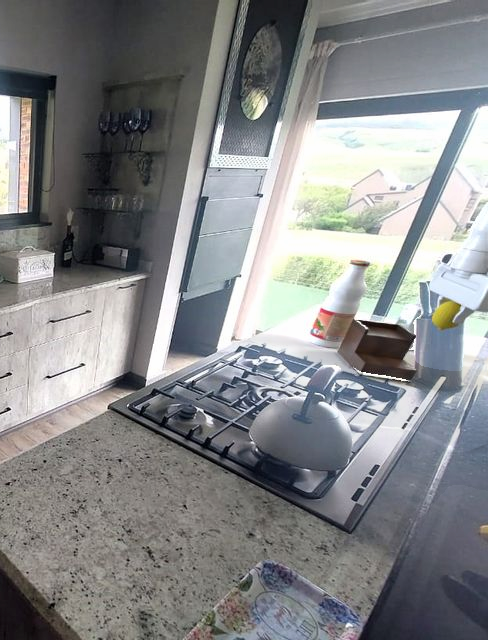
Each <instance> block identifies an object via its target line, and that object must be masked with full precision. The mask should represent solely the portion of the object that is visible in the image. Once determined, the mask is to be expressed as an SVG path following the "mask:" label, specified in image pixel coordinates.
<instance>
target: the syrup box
mask: <svg viewBox="0 0 488 640" xmlns="http://www.w3.org/2000/svg"><path fill="white" fill-rule="evenodd" d="M420 304H421V303H406V304H405V305H404V307H403V309H402V312H401V313H400V315H399V317H398V318H397V321H396V322H395V324H400V325H402V326H403V327H405V328H406V329H408V330H409V331H411V332H412V333H414V324H413V322H414V320H415V319H416V318H417V317H419V316H420V315H421V306H420ZM413 343H414V341H413ZM413 343H412V345H411V346H410V348H409V349H411V348H412V347H413ZM411 351H412V350H409V352H411ZM412 352H413V351H412Z"/></svg>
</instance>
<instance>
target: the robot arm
mask: <svg viewBox="0 0 488 640" xmlns="http://www.w3.org/2000/svg"><path fill="white" fill-rule="evenodd" d="M439 263H441V264H439V265H438V267H437V268H436V270H435V271H434V273H433V275H432V278H431V280H430V281H429V283H428V289H429V291H431V292H433V293H434V294H437V295H439V296H438V298H437V302H436V303H437V304H436V308H435V310H436V309H437V308H438V307H439V306H440V305H441V304H443V303H445V302H449V301H454V302H456V303H458V304H461V305H462V306H461V308H460V310H461V311H460V312H459V313H457V314H456V315H453V316H452V318H451V320H450V321H451V322H453V323H455V324H460V325H462V324H464V323H465V321H466V319H467V318H468V317H470V316H471V315H473V314H474V313H475V312H478V313H479V312H480V313H488V202H487V203H486V204H485V205H484V207H483V208H482V209H481V211H480V213H479V214H478V216H477V217H476V219H475V221H474V222H473V224H472V226H471V228H470V232H469V236H468V237H467V239H466V240H465V241H463V243H462V244H461V246H460V247H459V249H458V250H455V251H454V252H447V253H444V254H442V255H441V257H440V260H439Z"/></svg>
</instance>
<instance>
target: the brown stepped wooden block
mask: <svg viewBox="0 0 488 640" xmlns="http://www.w3.org/2000/svg"><path fill="white" fill-rule="evenodd" d="M415 338H416V335H415V334H414V333H412V332H411V331H409V330H408V329H406V328H405V327H403V326H402V325H400V324H396V323H392V322H386V321H385V322H384V321H378V320H377V321H376V320H368V319H361V318H354V319H353V320H352V322H351V324H350V326H349V329H348V331H347V333H346V335H345V337H344V339H343V341H342V343H341V345H340V346H339V347H338V349H337V353H338V354H339V355H340V356H341V357H342V358H343V359H344V360H345V362H347V363H348V365H349V366H350V367H351V368H352V369H353V370H354V372H356V370H355V369H354V368H356V369H357V370H359V371H361V372H366V373H371V374H378V375H386V376H391V377H396V378H402V379H406V380H411V381H412V380H413V378H414V376H415V375H416V374H417V372H418V370H417V369H416V368H415V367H413V366H412V365H411V364H409V362H407V361H406V360H405V357H406V355H407V353H408V351H410V350H409V348H410V346H411V345H412V343H413V341H414V339H415ZM353 367H354V368H353ZM391 381H395V382H401V380H395V379H392V380H391ZM401 383H408V384H409V383H410V384H411V382H408V381H402V382H401Z"/></svg>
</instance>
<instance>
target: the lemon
mask: <svg viewBox="0 0 488 640" xmlns="http://www.w3.org/2000/svg"><path fill="white" fill-rule="evenodd" d="M461 306H462V305H461V304H458V303H456V302H454V301H449V302H445V303H443V304H441V305H440V306H439V307H438V308H437V307H436V308H437V309H436V308H435V312H434V313H433V316H432V321H431V323H432V324H433V325H434V326H435V327H437V329H438V330H439V331H445V330H447V329H454V328H457V327H458V326H460V325H461V324H455V323H453V322H451V321H450V320H451V318H452V316H453V315H456V314H457V313H459V312H460V311H461V310H460V308H461Z"/></svg>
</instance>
